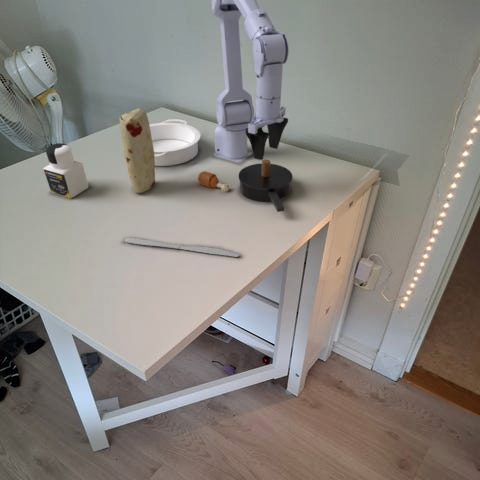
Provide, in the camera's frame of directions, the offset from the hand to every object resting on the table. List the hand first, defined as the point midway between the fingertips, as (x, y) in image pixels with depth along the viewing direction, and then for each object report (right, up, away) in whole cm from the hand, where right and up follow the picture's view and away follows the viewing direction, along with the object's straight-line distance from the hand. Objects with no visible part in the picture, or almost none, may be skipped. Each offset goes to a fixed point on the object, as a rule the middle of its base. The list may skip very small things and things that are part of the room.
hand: (266, 153), depth 110 cm
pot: (-30, +10, +25) cm, 40 cm away
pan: (0, -7, +7) cm, 10 cm away
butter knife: (-20, -26, -12) cm, 35 cm away
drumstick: (-14, -6, +8) cm, 17 cm away
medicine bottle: (-53, -7, +8) cm, 54 cm away
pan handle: (+2, -13, -2) cm, 13 cm away
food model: (-33, -6, +9) cm, 34 cm away
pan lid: (0, -5, +4) cm, 6 cm away
